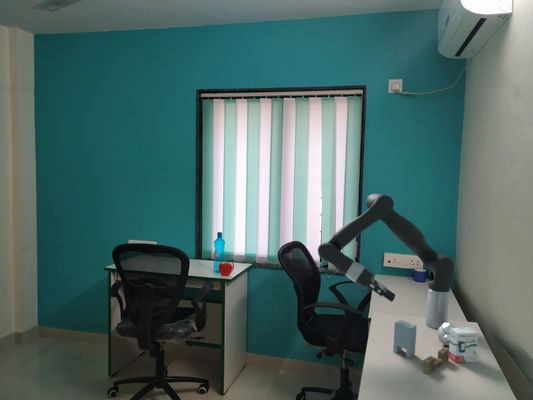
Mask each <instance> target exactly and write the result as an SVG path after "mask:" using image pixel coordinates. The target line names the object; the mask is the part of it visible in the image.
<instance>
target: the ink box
mask: <svg viewBox="0 0 533 400" xmlns="http://www.w3.org/2000/svg"><path fill="white" fill-rule="evenodd" d="M478 337H479V333H478V332H477V331H476V330H475V329H473V328H472V327H469V326H465V327H464V326H463V327H456V328H451V329H450V345H449V346H448V347H449V348H448V349H449V359H450V360H452V361H453V362H454V363H457V364H458V363H475V362H477V349H478Z"/></svg>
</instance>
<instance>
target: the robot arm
mask: <svg viewBox="0 0 533 400" xmlns="http://www.w3.org/2000/svg"><path fill="white" fill-rule="evenodd" d="M365 203H366V208H367V209H368V210H366V211H365V212H364V213H362V214H361V215H359V216H358V217H356V218H354V219H352V220H350V221H348V222H347V223H345V224H344V225H342V227H341V228H339V229H338V230H337V231H336V232H335V233H334V234H333V236H332V238H330V239H329V240H328V242H325V241H324V242H322V243H321V244H319V246H318V248H317V254H318V257H319V259H320V260H321V261H324V262H329V263H330V264H331V265H332V266H334V267H335V269H336V270H337V271H338V272H340V273H342V274H343V275H344V276H346V277H347V278H348V279H349V280H351V281H352V282H353V283H355V284H356V285H358V286H359V287H361V288H362V289H366V288H367V286H368V289H370V290H371V291H373V292H375V294H378V295H379V296H380V297H384V298H385V299H387V300H388V301H389V302H393V301H394V300H395V299H396V298H395V297H396V294H395V293H394V292H392V291H391V290H390V289H388V287H387V286H385V285H384V284H383V283H381V282H380V281H379V280H377V279H373V276H374V274H375V273H374V272H372V271H371V270H370V269H368V268H366V267H365V266H364V265H362V264H361V263H359V262H357V261H355V260H354V259H352V258H350V257H349V256H347V255H346V254H345V253H343V252H342V250H343V249H344V248H345V247H346V246H348V245H349V244H350V243H351V242H353V240H355V238H356V237H358V236H359V235H360V234H361V233H363V232H364V231H365V230H366V229H369V228H370V227H371V226H373V224H375V223H377V222H378V221H381V222H383V224H385V225H386V227H387V228H388V229H389V230H390V231H391V232H392V233H393V234H394V235H395V237H396V238H398V240H399V241H400V242H401V243H402V244H404V245H405V247H407V248H408V249H409V250H410V251H411V252H412V253H413V254H415V256H417V257H418V258H419V259H420V261H421V262H422V264H424V266H425V268H427V269H428V271H430V272H431V273H433V274H434V279H433V280H430V281H428V284H427V285H428V286H427V301H426V302H427V304H426V316H425V317H426V318H425V325H426V326H427V327H430V328H432V329H437V330H438V329H439V327H440V326H442V325H443V324H444V323H445V322H449V308H450V307H449V306H450V297H451V287H452V285H453V281H454V273H455V264H454V261H453V259H452V258H451V257H449V256H447V255H443V254H441V253H439V252H438V251H436V250H435V249H434V248H432V247H431V246H430V245H429V244H428V242H427V239H426V237H425V235H424V233H423V231H421V230H420V229H419V228H418V227H417V226H416V225H415V223H413V222H412V221H410V220H409V219H407V218H406V217H405V216H403V215H401V214H400V213H398V212H397V211H396V210H394V207H395V201H394V199H393V198H392V197H391V196H390V195H387V194H384V193H372V194H370V195H369V196H367V199H366V201H365Z"/></svg>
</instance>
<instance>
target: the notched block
mask: <svg viewBox="0 0 533 400" xmlns="http://www.w3.org/2000/svg"><path fill="white" fill-rule="evenodd" d="M417 327H418V326H417V325H416V324H413V323H410V322H407V321H405V320H401V319H400V320H396V321H395V322H394V329H393V330H394V333H393V348H392V350H393V353H396V354H398V353H400V352H401V351H403V349H405V350H406V352H405V353H406V354H405V357H406V358H407V359H411V358H412V357H414V356H416V343H417V341H416V340H417Z"/></svg>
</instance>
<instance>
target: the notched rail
mask: <svg viewBox="0 0 533 400" xmlns="http://www.w3.org/2000/svg"><path fill="white" fill-rule="evenodd" d="M449 359H450V358H449V348H446V347H442V348H441V349H439V350H437V357H434V356H432V355H429V356H428V357H426V358H425V359H423V364H422V365H423V367H422V370H423V371H422V373H424V374H427V375H430V374H431V373H432V372H434V371H435V370H437V369H439V368H440V367H442V366H443V365H444V364H446V363H447V362H449Z"/></svg>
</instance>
